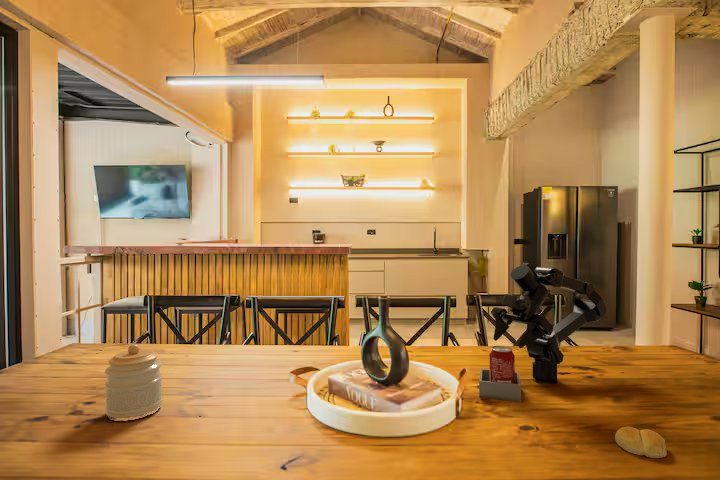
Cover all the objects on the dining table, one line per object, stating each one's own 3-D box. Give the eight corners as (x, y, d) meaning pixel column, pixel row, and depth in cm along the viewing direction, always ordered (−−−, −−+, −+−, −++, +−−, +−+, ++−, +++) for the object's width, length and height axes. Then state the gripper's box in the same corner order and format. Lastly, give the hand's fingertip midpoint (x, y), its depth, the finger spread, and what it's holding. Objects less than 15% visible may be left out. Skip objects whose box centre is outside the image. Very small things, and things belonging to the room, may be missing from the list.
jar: (173, 405, 111) (172, 340, 111) (132, 426, 99) (131, 353, 99) (136, 399, 115) (135, 336, 115) (93, 419, 103) (91, 349, 103)
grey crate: (518, 387, 121) (518, 372, 120) (521, 402, 110) (521, 385, 110) (480, 383, 124) (480, 368, 124) (479, 397, 114) (479, 381, 114)
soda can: (514, 396, 112) (514, 352, 112) (488, 393, 114) (488, 350, 114) (514, 387, 118) (514, 346, 118) (490, 384, 121) (489, 344, 121)
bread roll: (615, 435, 92) (615, 417, 92) (664, 445, 88) (664, 427, 88) (614, 451, 85) (614, 432, 85) (668, 464, 81) (668, 444, 81)
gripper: (494, 281, 129) (468, 320, 124) (545, 287, 112) (518, 333, 107) (512, 303, 133) (488, 342, 128) (564, 312, 116) (539, 357, 111)
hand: (506, 343), depth 118 cm, fingers open, 9 cm apart
